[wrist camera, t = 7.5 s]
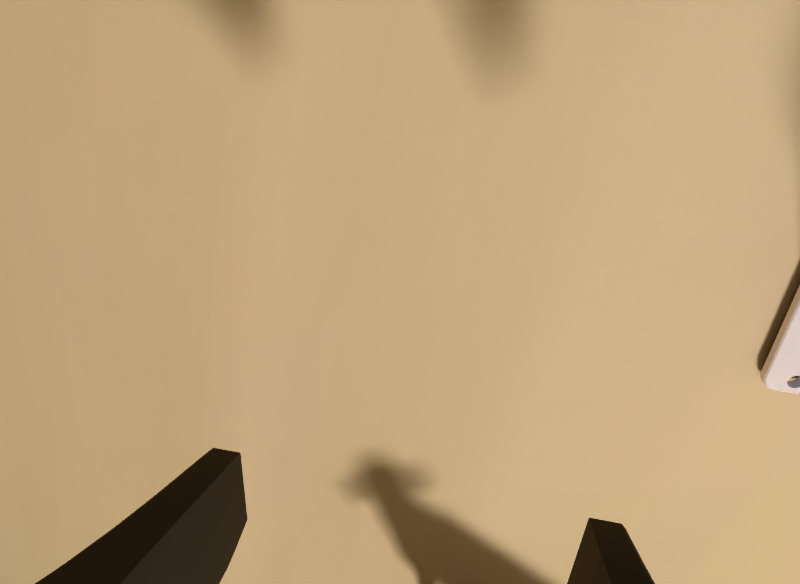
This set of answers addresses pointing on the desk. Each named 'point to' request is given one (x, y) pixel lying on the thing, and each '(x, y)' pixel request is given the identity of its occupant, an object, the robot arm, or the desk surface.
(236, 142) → the desk surface
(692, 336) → the desk surface
